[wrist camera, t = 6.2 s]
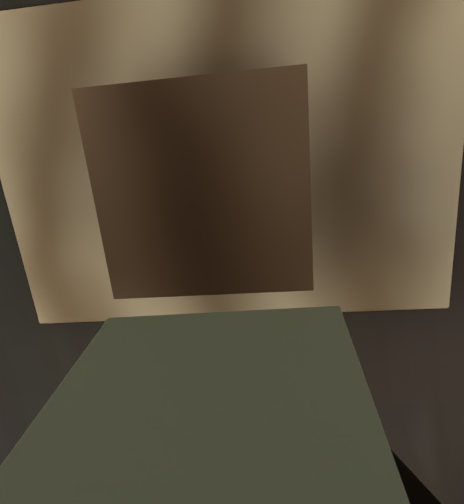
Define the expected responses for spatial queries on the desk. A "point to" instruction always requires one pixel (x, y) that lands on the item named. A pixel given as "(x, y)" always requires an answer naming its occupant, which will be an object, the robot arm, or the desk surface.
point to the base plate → (347, 134)
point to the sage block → (209, 417)
